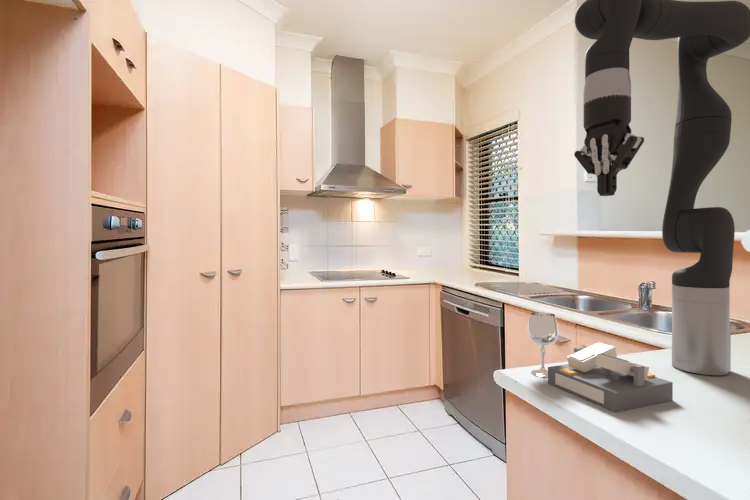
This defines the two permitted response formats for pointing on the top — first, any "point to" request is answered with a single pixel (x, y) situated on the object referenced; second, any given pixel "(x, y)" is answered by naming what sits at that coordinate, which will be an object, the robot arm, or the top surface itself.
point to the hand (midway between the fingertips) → (606, 195)
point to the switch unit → (612, 386)
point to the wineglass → (542, 335)
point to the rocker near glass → (589, 356)
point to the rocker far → (618, 364)
